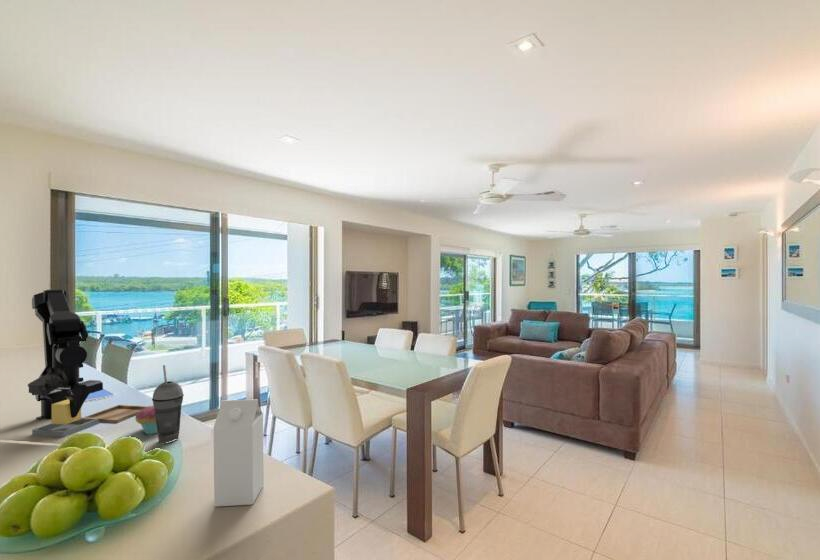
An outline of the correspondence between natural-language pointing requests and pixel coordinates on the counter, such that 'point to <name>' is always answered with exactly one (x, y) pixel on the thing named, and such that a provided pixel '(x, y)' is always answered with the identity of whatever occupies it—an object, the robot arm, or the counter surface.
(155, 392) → the beverage cup
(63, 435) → the dish
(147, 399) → the counter surface
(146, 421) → the cupcake
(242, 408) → the milk carton
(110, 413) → the tray
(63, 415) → the block
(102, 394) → the tablet computer
